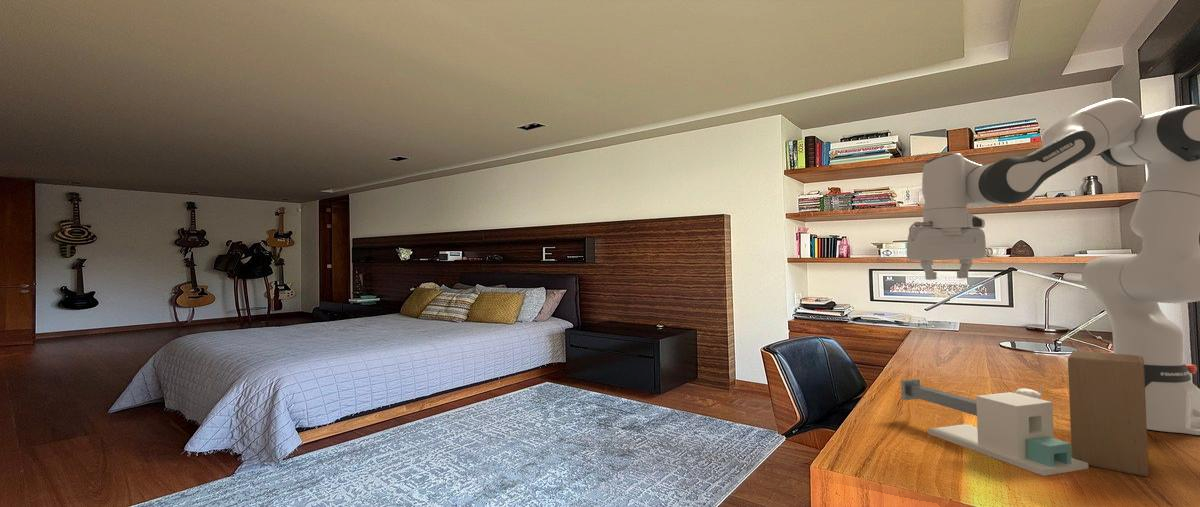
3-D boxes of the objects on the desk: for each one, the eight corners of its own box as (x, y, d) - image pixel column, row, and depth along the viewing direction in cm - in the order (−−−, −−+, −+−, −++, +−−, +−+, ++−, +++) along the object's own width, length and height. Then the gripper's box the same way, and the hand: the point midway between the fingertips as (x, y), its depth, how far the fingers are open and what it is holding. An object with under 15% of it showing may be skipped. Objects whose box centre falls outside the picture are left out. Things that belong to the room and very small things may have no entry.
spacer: (1048, 455, 99) (1047, 436, 99) (1071, 463, 95) (1070, 443, 95) (1027, 458, 97) (1026, 439, 97) (1050, 466, 94) (1049, 446, 94)
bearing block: (966, 428, 118) (964, 380, 118) (1088, 468, 95) (1086, 408, 95) (927, 433, 115) (925, 384, 116) (1043, 475, 92) (1040, 414, 92)
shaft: (917, 397, 127) (916, 378, 127) (1022, 428, 103) (1021, 405, 103) (901, 399, 126) (901, 380, 126) (1004, 431, 102) (1003, 407, 102)
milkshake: (1051, 433, 114) (1049, 387, 114) (1023, 432, 115) (1022, 387, 115) (1038, 426, 118) (1036, 383, 118) (1011, 425, 119) (1010, 382, 119)
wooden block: (1147, 461, 97) (1143, 355, 98) (1148, 477, 90) (1144, 363, 91) (1075, 448, 104) (1071, 350, 105) (1071, 462, 98) (1067, 357, 98)
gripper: (920, 220, 118) (922, 280, 118) (990, 220, 123) (992, 278, 123) (898, 222, 125) (900, 280, 124) (965, 222, 130) (967, 277, 129)
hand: (947, 279), depth 124 cm, fingers open, 8 cm apart
